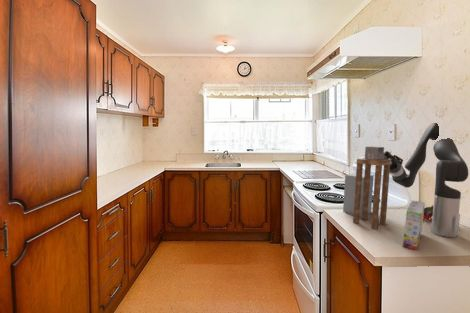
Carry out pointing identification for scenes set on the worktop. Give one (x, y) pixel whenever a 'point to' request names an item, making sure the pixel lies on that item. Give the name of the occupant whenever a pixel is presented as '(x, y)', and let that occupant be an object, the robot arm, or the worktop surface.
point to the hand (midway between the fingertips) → (382, 152)
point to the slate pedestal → (350, 193)
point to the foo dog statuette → (428, 212)
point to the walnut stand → (376, 191)
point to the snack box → (413, 224)
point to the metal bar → (375, 153)
